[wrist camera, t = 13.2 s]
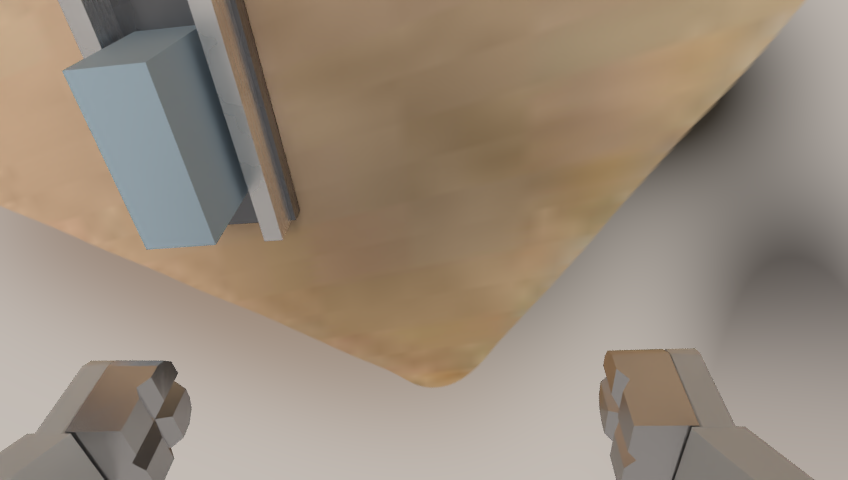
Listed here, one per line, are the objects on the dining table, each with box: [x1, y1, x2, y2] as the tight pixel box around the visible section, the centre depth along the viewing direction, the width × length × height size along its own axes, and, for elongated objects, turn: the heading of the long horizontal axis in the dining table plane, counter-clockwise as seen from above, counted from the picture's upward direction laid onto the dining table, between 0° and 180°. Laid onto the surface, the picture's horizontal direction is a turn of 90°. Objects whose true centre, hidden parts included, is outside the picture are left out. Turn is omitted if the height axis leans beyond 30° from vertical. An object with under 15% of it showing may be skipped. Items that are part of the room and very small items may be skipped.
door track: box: [58, 0, 300, 241], centre depth 33 cm, size 16×8×4 cm, turn 6°
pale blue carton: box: [63, 25, 248, 250], centre depth 31 cm, size 4×10×7 cm, turn 6°
